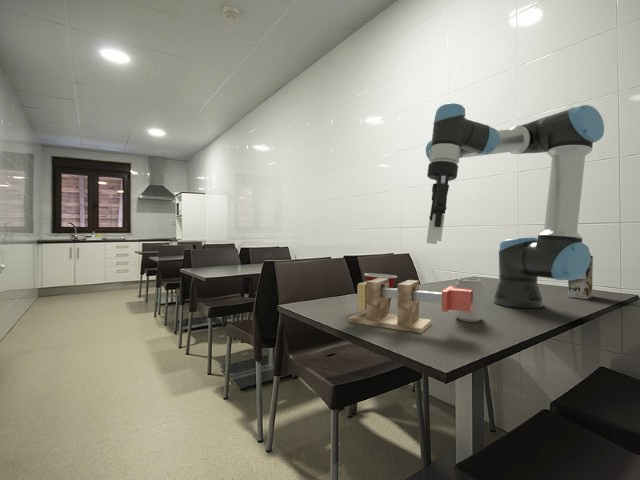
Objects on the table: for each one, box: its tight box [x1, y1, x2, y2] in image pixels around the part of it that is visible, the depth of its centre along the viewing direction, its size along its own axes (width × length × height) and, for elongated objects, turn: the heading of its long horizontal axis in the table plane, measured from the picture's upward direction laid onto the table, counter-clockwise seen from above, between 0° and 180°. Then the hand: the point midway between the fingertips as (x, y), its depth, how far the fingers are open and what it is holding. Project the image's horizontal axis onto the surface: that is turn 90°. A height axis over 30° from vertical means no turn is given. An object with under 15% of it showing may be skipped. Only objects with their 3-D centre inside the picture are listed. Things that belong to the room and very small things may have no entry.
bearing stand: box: [348, 278, 433, 334], centre depth 97 cm, size 21×10×12 cm, turn 58°
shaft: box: [356, 285, 473, 313], centre depth 94 cm, size 31×9×5 cm, turn 58°
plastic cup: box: [364, 272, 398, 309], centre depth 114 cm, size 11×11×12 cm
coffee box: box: [567, 255, 594, 300], centre depth 133 cm, size 9×6×16 cm
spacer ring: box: [357, 281, 367, 311], centre depth 101 cm, size 2×7×7 cm, turn 147°
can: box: [455, 277, 484, 323], centre depth 101 cm, size 8×8×12 cm
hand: (433, 242), depth 91 cm, fingers open, 13 cm apart
